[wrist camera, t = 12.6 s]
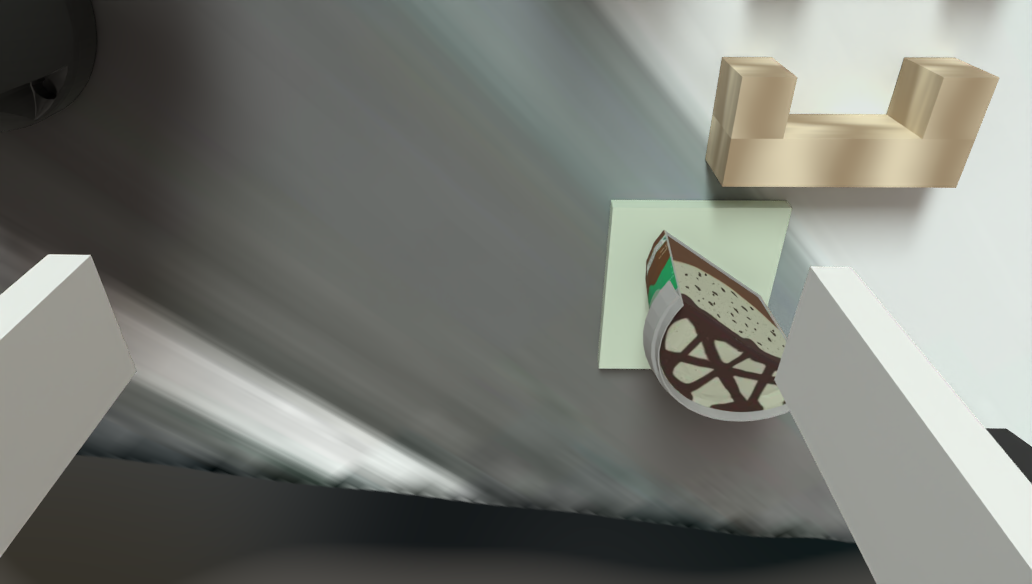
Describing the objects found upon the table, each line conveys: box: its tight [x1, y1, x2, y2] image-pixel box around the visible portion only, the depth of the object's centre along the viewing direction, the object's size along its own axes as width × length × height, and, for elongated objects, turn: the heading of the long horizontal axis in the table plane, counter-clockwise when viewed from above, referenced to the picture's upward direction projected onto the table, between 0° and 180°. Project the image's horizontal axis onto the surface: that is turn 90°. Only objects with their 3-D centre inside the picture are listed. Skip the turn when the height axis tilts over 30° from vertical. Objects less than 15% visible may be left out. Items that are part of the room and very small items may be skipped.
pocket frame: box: [705, 57, 999, 188], centre depth 36 cm, size 14×20×4 cm
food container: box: [643, 230, 790, 422], centre depth 43 cm, size 12×6×10 cm, turn 55°
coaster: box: [598, 200, 792, 369], centre depth 48 cm, size 12×14×1 cm
